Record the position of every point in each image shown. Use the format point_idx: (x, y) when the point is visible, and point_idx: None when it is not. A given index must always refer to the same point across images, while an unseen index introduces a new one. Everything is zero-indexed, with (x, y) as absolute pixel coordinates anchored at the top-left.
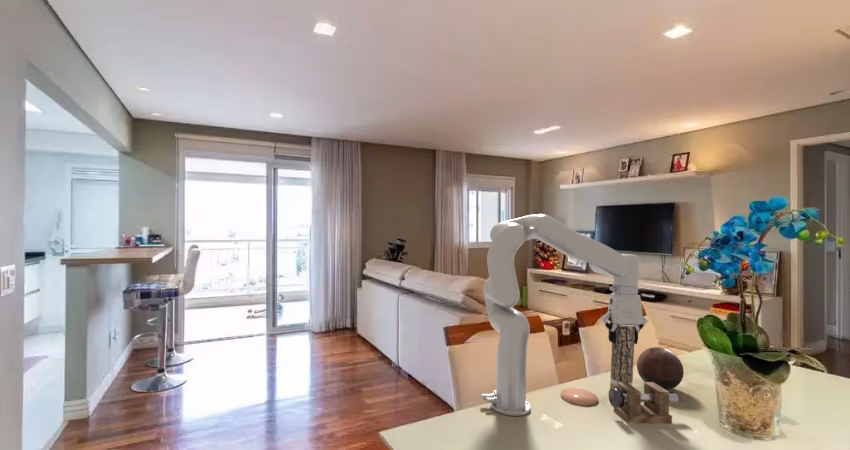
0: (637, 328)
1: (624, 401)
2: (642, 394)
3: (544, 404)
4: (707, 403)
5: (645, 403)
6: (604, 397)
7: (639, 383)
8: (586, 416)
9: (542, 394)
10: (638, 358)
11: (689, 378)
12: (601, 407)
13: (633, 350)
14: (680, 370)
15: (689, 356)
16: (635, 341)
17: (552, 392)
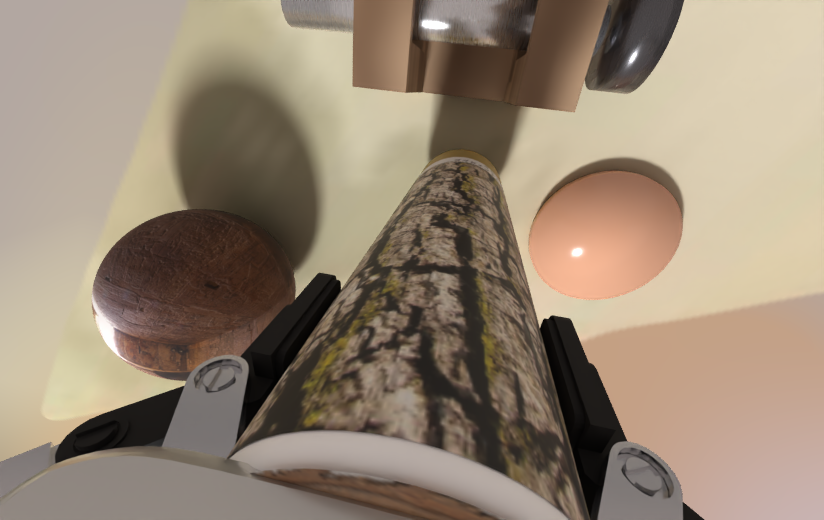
0: (212, 405)
1: None
2: (478, 8)
3: (802, 209)
4: (150, 124)
5: (422, 77)
6: None
7: None
8: (724, 70)
9: (719, 288)
10: None
11: None
12: (576, 148)
13: (386, 233)
14: (137, 227)
15: (74, 406)
16: (327, 288)
17: (661, 295)
